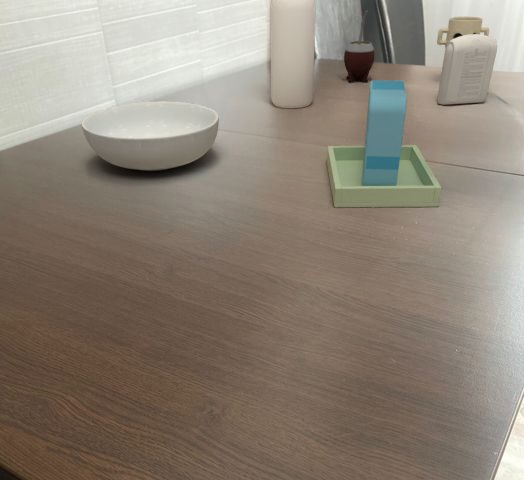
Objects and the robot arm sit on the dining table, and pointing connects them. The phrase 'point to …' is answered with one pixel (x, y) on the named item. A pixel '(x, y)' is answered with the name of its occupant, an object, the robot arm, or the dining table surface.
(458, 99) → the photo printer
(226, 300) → the dining table surface
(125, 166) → the serving bowl
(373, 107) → the data package
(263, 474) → the dining table surface
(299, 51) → the alcohol
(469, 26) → the character mug
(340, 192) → the shallow green tray
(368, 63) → the mate gourd
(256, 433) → the dining table surface
